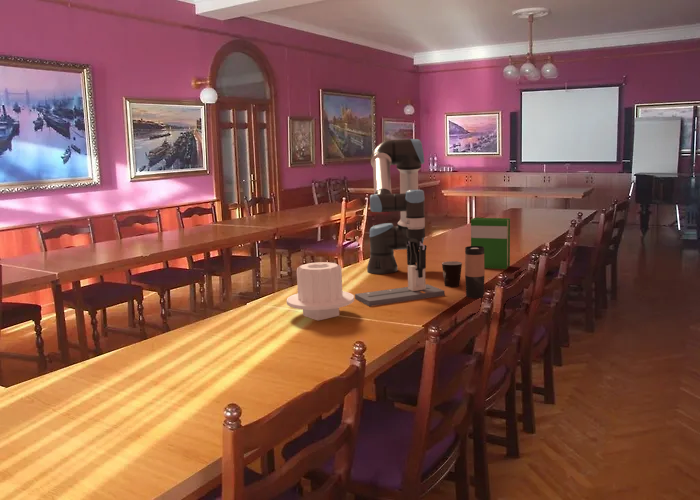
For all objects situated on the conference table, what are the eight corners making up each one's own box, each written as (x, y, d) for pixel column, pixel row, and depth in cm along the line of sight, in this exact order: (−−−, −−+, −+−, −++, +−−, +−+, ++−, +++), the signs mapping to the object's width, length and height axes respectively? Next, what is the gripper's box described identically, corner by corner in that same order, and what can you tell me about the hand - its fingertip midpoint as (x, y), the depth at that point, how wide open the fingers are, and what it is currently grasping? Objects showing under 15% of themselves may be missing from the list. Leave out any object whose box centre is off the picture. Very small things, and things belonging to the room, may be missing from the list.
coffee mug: (461, 287, 267) (461, 265, 265) (441, 287, 268) (441, 265, 267) (462, 281, 278) (462, 260, 276) (443, 281, 280) (442, 260, 278)
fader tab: (408, 289, 258) (407, 265, 256) (420, 287, 260) (420, 263, 258) (412, 291, 254) (412, 266, 252) (425, 289, 256) (425, 265, 255)
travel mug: (485, 294, 254) (485, 246, 251) (483, 298, 247) (483, 249, 244) (466, 293, 257) (466, 245, 253) (463, 297, 250) (463, 248, 246)
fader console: (355, 298, 255) (354, 293, 254) (427, 288, 267) (427, 283, 267) (369, 306, 242) (368, 300, 241) (444, 295, 255) (444, 290, 254)
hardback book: (509, 266, 308) (510, 218, 304) (506, 269, 302) (507, 220, 298) (474, 264, 316) (474, 217, 312) (471, 267, 309) (470, 219, 305)
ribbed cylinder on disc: (275, 315, 234) (272, 266, 231) (329, 303, 248) (326, 257, 245) (312, 329, 214) (309, 275, 211) (368, 315, 229) (366, 265, 226)
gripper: (397, 226, 259) (399, 281, 263) (417, 231, 244) (418, 289, 248) (413, 225, 262) (414, 279, 266) (434, 229, 246) (435, 286, 250)
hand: (416, 283), depth 257 cm, fingers closed on fader tab, 4 cm apart
